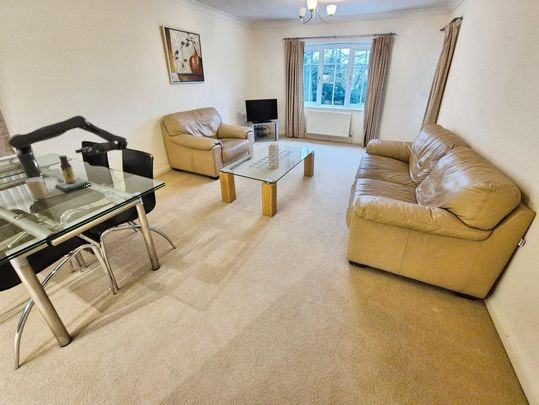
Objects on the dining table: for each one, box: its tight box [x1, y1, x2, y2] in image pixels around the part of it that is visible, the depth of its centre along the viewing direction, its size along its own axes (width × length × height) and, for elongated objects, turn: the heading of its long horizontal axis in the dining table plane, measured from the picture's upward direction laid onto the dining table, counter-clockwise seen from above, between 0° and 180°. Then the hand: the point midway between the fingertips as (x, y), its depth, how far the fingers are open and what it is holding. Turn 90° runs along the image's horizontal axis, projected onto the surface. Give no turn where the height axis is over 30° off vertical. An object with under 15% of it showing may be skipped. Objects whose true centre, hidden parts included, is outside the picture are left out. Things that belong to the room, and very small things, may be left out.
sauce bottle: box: [58, 154, 76, 184], centre depth 177 cm, size 7×6×20 cm
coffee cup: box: [24, 176, 50, 199], centre depth 166 cm, size 9×9×12 cm
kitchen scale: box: [54, 177, 92, 194], centre depth 181 cm, size 16×16×3 cm
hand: (78, 152), depth 180 cm, fingers open, 8 cm apart
